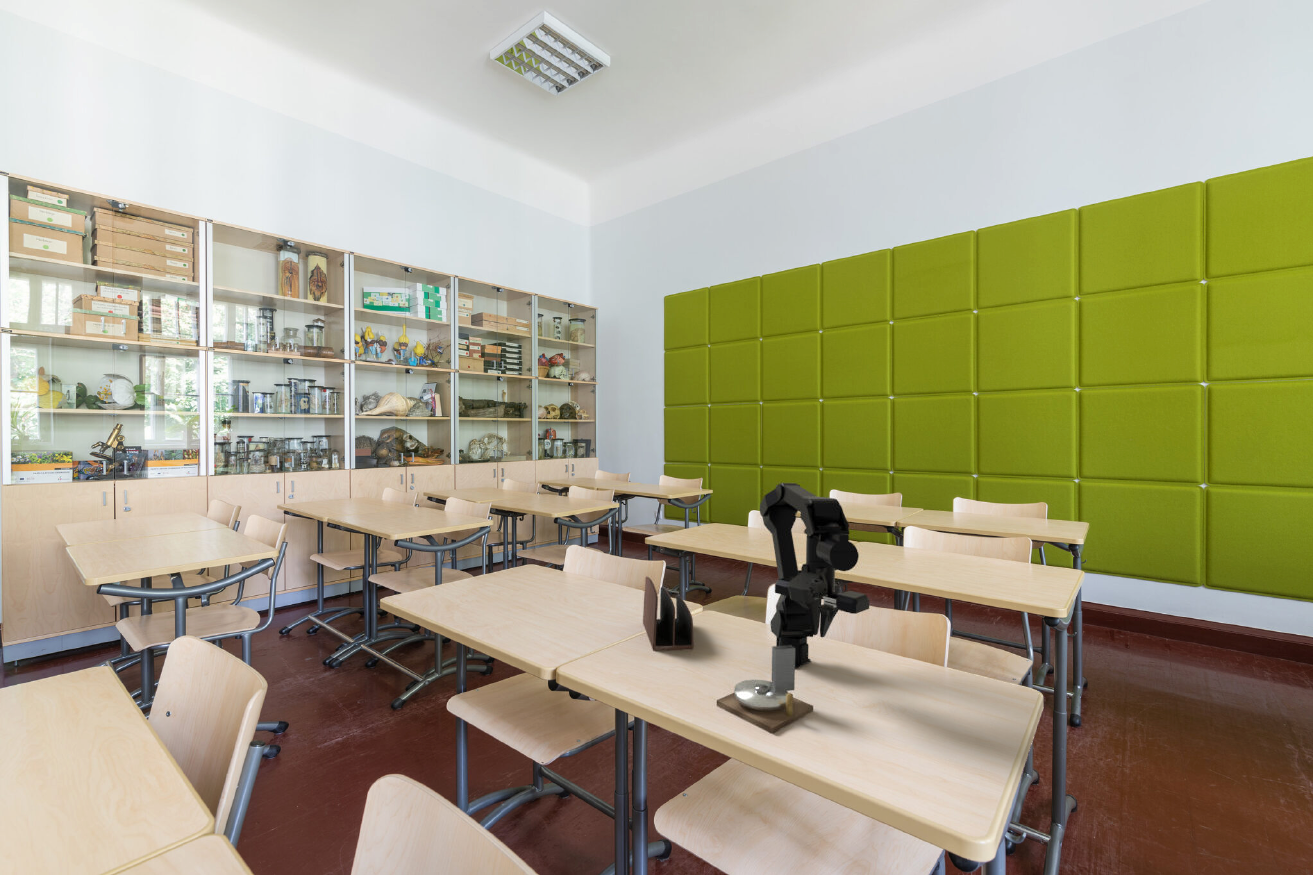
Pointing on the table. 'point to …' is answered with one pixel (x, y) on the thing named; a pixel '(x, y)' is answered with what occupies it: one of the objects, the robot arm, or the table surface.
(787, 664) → the disc and block
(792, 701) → the walnut board
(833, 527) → the robot arm
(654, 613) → the letter holder
